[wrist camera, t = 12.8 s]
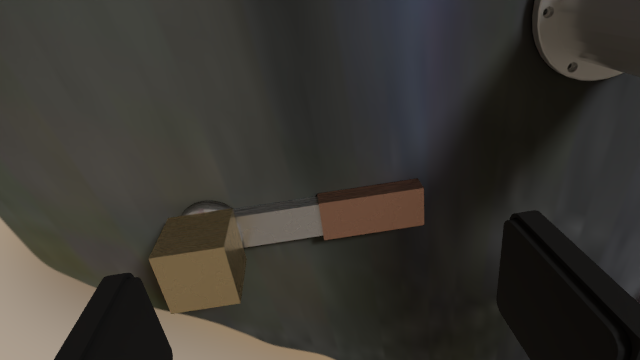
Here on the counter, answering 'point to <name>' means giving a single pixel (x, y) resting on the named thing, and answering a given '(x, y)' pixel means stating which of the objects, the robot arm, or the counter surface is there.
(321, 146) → the counter surface
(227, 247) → the mustard yellow cube
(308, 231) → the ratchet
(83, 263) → the counter surface
